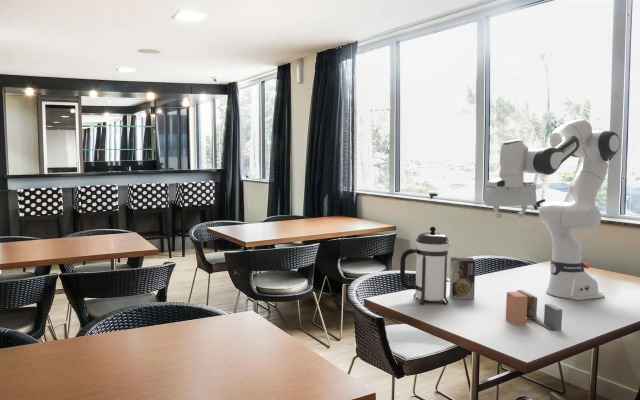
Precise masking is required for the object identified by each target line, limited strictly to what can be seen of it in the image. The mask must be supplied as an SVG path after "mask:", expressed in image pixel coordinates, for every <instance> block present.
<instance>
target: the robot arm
mask: <svg viewBox="0 0 640 400" xmlns="http://www.w3.org/2000/svg"><path fill="white" fill-rule="evenodd" d="M549 143H550V146H551V147H545V148H539V147H536V148H535V147H533V148H530V147H528V146H527V145H525V144H524V142H523V140H522V139H517V138H515V139H509V140H505V141H504V142H502V144H501V146H500V147H501V148H500V153H499V166H500V170H499V174H498V177H495V178H492V179H489V180H487V181H486V186H487V188H486V189H485V191H484V198H483V200H484V205H485V206H487V207H492V209H493V211H494V213H495V218H497V219H499V218H500V219H501V218H502V213H501V212H500V211H499V209H500V207H511V206H512V207H515V206H516V207H520V208H521V210H520V211H519V212H518V213H517V214H518V218H525V213H526V211H527V210H528V206H536V204H537V185H536V184H535V183H534V182H533V181H524V176H525V174H527V173H528V174H541V175H545V176H548V175H553V174H554V173H556V172H557V170H559V168H560V167H561V165H562V164H563V163H564V162H565V161H567V160H568V159H569V158H570V157H573V158H583V161H582V164H581V165H580V166H579V168H578V169H577V171H576V172H575V175H574V176H573V178H572V179H571V182H570V183H569V185H568V194H569V195H570V197H572V198H573V199H572V201H571V202H570V201H569V202H567V201H558V200H557V201H556V200H555V201H547V202H545V203H543V204H541V206H540V209H539V211H538V215H539V216H538V217H539V220H540V221H541V222H542V224H543V225H544V226H545V227H546V228H547V230H548V232H549V234H550V238H551V243H552V244H551V245H552V249H551V250H552V251H551V258H552V259H550V266H549V267H550V276H549V277H550V278H549V282H548V285H547V288H546V290H545V292H546V293H547V294H548V295H551V296H554V297H558V298H564V299H570V300H575V301H576V300H577V301H580V300H581V301H583V300H590V299H600V298H605V294H604V293H603V292H602V291H599V284H598V282H597V280H596V278H593V277H592V276H591V275H590V274H588V272H586V271H585V269H590V267H591V265H590V264H589V263H586V262H585V263H583V262H582V252H583V251H582V249H583V246H582V243H581V241H580V240H579V239H577V237H575V236H574V234H573V232H572V230H574V231H581V232H583V231H594V230H596V229H597V228H598V227H599V226H600V224H601V222H602V214H601V211H600V209H599V208H598V207H597V206H596V197H597V196H598V193H599V191H600V189H601V187H602V185H603V184H604V181H605V180H606V179H605V178H606V176H607V173H608V170H609V164H608V162H609V161H611V160H612V159H613V158H614V156H615V155H616V154H617V153H618V151H619V149H620V146H621V139H620V137H619V135H618V133H616V132H615V131H610V130H604V131H602V130H593V128H592V125H591V123H590V122H589V121H587V120H585V119H575V120H572V121H571V120H570V121H568V122H566V123H564V124H562V125H559V126H558V127H557V128H555V129H554V130H553V131H552V132H551V134H550V137H549ZM524 173H525V174H524Z"/></svg>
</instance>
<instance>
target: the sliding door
mask: <svg viewBox="0 0 640 400" xmlns="http://www.w3.org/2000/svg"><path fill="white" fill-rule="evenodd" d="M516 292H520V293H522V294H524V295H526V296H528V297H527V315H528V316H533V317H535V316H534V296H535V295H533V294H531V293H529V292H527V293H526V291H524V290H522V289H518V290H517V291H516ZM528 293H529V294H528ZM530 294H531V295H530ZM532 295H533V296H532Z"/></svg>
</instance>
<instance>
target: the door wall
mask: <svg viewBox="0 0 640 400" xmlns="http://www.w3.org/2000/svg"><path fill="white" fill-rule="evenodd" d="M525 292H526V291H525ZM526 293H528V294H530V295H532V296H534V316H528V315H527V317H526V319H528V320H531V321H532V322H534V323H536V324H537V325H539V326H541V327H543V328H544V329H546V330H548V331H562V321H563V318H562V317H563V309H562V308H560V307H557V306H555V305H553V304H552V303H544V311H543V313H544V314H543V315H544V316H543V321H541V320H539V319H538V318H536V317H537V314H538V313H537V311H538V296H536V295H533V294H531V293H529V292H526Z"/></svg>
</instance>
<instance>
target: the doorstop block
mask: <svg viewBox="0 0 640 400" xmlns="http://www.w3.org/2000/svg"><path fill="white" fill-rule="evenodd" d="M527 297H528V296H526V295H524V294H522V293H520V292H517V291H507V292H506V299H505V301H506V304H505V305H506V307H505V320H506V321H507V322H509V323H510V324H512V325H513V326H519V325H520V326H522V325H523V326H524V325H527Z"/></svg>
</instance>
